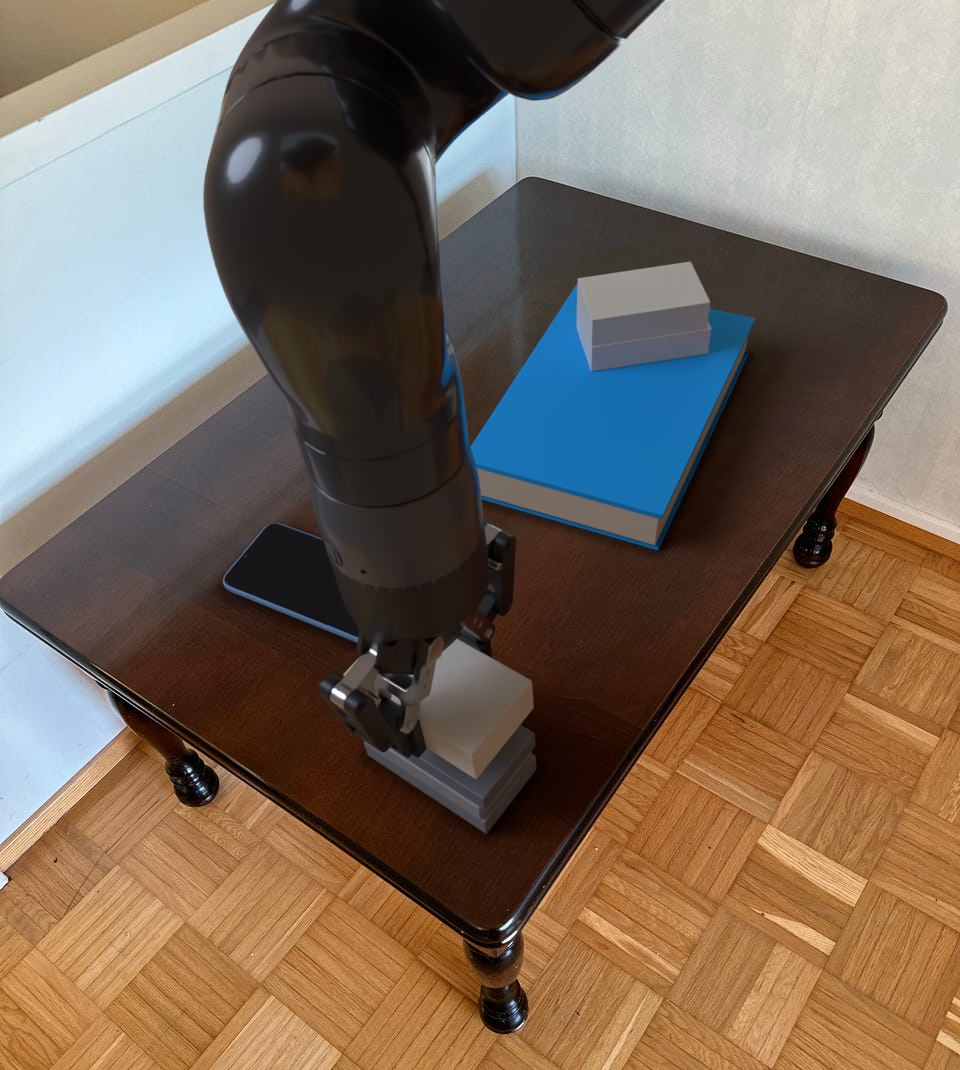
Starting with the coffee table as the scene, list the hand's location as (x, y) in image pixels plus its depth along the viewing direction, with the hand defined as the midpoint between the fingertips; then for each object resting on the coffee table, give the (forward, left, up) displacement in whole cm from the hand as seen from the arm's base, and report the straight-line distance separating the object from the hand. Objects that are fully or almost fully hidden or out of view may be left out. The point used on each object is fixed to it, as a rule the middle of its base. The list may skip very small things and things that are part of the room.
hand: (443, 707), depth 57 cm
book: (-18, -30, -7) cm, 36 cm away
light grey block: (0, 0, 0) cm, 0 cm away
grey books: (0, 0, -7) cm, 7 cm away
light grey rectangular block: (-21, -35, -3) cm, 41 cm away
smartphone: (+8, -17, -7) cm, 20 cm away
